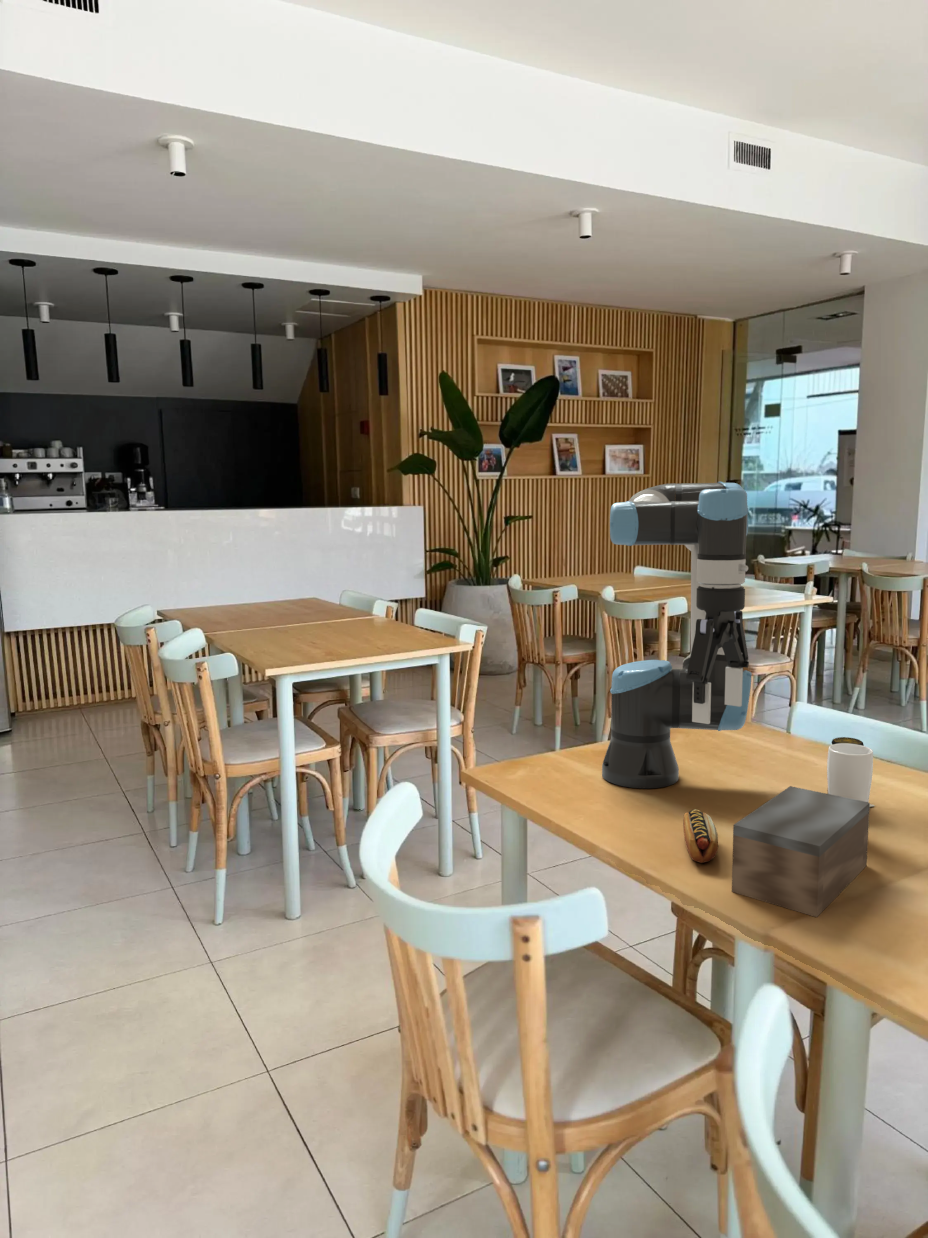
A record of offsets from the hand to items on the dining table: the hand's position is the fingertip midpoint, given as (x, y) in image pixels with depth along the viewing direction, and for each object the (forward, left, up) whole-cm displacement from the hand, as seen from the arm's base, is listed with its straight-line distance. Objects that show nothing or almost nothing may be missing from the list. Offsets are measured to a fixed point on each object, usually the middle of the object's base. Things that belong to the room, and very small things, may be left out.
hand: (717, 713), depth 143 cm
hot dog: (+2, -9, -21) cm, 23 cm away
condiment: (+12, +27, -21) cm, 36 cm away
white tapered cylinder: (+18, +11, -21) cm, 29 cm away
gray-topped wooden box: (+18, -9, -20) cm, 28 cm away
